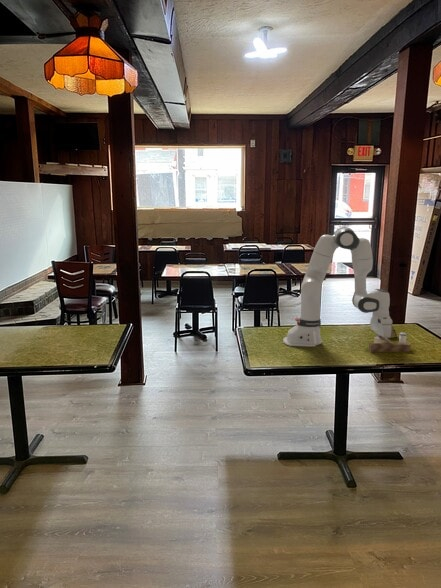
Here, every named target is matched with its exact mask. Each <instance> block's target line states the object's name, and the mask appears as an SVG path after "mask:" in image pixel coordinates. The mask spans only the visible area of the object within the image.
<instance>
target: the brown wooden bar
mask: <svg viewBox="0 0 441 588" xmlns="http://www.w3.org/2000/svg"><path fill="white" fill-rule="evenodd" d="M411 348H412V345H411V343H410V342H406V343H399V342H391V343H374V342H373V343H372V342H371V343H368V352H369V353H390V352H391V353H393V352H394V353H396V352H397V353H399V352H407V353H409V352H411V350H412V349H411Z"/></svg>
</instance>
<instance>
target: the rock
mask: <svg viewBox="0 0 441 588" xmlns="http://www.w3.org/2000/svg"><path fill="white" fill-rule="evenodd" d="M397 337H398V335H397V331H396V329H395V328H394V326H393V323H392V324H391V336H390V338H387V339H393V338H397Z"/></svg>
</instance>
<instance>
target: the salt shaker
mask: <svg viewBox="0 0 441 588" xmlns="http://www.w3.org/2000/svg"><path fill="white" fill-rule="evenodd" d="M398 335H399V337H398V338H399V340H398V343H407V335H408V333H407V332H402V331H400V332H399V334H398Z"/></svg>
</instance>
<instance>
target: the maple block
mask: <svg viewBox="0 0 441 588" xmlns="http://www.w3.org/2000/svg"><path fill="white" fill-rule="evenodd" d="M373 339H374V340H373V343H392V340H390V338H388V339H387V338H384V337H377V336H374V338H373Z"/></svg>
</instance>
